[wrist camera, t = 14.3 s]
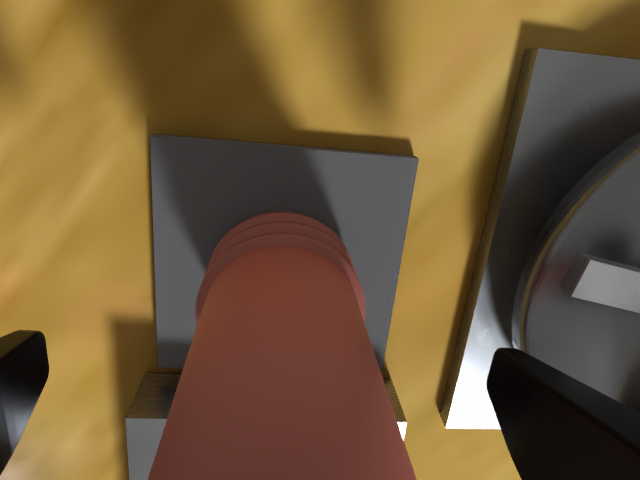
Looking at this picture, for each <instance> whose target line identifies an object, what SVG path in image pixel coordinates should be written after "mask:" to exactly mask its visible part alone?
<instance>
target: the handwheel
mask: <svg viewBox="0 0 640 480" xmlns="http://www.w3.org/2000/svg"><path fill="white" fill-rule="evenodd" d="M512 342H513V348H517V349H520V350H521V351H523V352H525V353H527V354H529V355H531V356H533V357H535V358H537V359H538V360H540V361H542V362H544V363H546V364H548V365H550V366H552V367H554V368H555V369H557V370H559V371H561V372H563V373H565V374H567V375H569V376H571V377H573V378H574V379H576V380H578V381H580V382H582V383H584V384H586V385H588V386H590V387H591V388H593V389H595V390H597V391H599V392H601V393H603V394H605V395H607V396H609V397H610V398H612V399H614V400H616V401H618V402H620V403H622V404H624V405H626V406H627V407H629V408H631V409H633V410H635V411H637V412H639V413H640V132H639V133H637V134H636V135H634V136H632V137H631V138H629V139H627V140H626V141H625V142H623V143H622V144H621V145H620V146H618V147H617V148H616V149H614V150H613V151H612V152H610V153H609V154H608V155H606V156H605V157H604V158H602V159H601V160H600V161H599V162H598V163H597V164H596V165H595V166H594V167H593V168H592V169H591V170H590V171H588V172H587V173H586V174H585V175H584V176H583V177H582V178H581V179H580V180H579V181H578V182H577V183H576V184H575V186H574V187H573V188H572V189H571V190H570V191H569V193H568V194H567V195H566V196H565V197H564V198H563V199H562V201H561V202H560V203H559V204H558V206H557V207H556V209H555V210H554V212H553V213H552V214H551V216H550V217H549V219H548V220H547V222H546V223H545V224H544V226H543V228H542V230H541V231H540V233H539V235H538V237H537V239H536V241H535V242H534V244H533V246H532V248H531V250H530V252H529V255H528V257H527V260H526V262H525V264H524V267H523V269H522V272H521V275H520V278H519V282H518V286H517V290H516V294H515V297H514V306H513V314H512Z"/></svg>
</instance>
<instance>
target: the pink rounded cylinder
mask: <svg viewBox="0 0 640 480" xmlns="http://www.w3.org/2000/svg"><path fill="white" fill-rule="evenodd" d="M365 314H366V307H365V298H364V294H363V290H362V287H361V285H360V282H359V279H358V276H357V274H356V271H355V268H354V266H353V263H352V260H351V258H350V255H349V252H348V250H347V248H346V247H345V245H344V243H343V242H342V240H341V239H340V238H339V237H338V235H337V234H336V233H335V232H334V231H333V230H332V229H330V228H329V227H328V226H326V225H325V224H323V223H322V222H320V221H318V220H316V219H314V218H312V217H309V216H307V215H303V214H300V213H295V212H287V211H276V212H267V213H263V214H259V215H256V216H253V217H250V218H248V219H246V220H244V221H242V222H240V223H239V224H237V225H236V226H235V227H233V228H232V229H231V230H229V231H228V232H227V233H226V234H225V235H224V236H223V238H222V239H221V240H220V241H219V243H218V244H217V246H216V248H215V250H214V251H213V254H212V256H211V259H210V261H209V264H208V267H207V270H206V272H205V275H204V278H203V281H202V284H201V286H200V289H199V292H198V296H197V300H196V307H195V318H196V325H197V327H196V330H195V334H194V337H193V340H192V343H191V346H190V349H189V352H188V355H187V358H186V362H185V365H184V368H183V371H182V374H181V377H180V380H179V383H178V386H177V390H176V393H175V396H174V399H173V402H172V405H171V408H170V411H169V415H168V418H167V421H166V424H165V427H164V430H163V433H162V436H161V439H160V443H159V446H158V449H157V452H156V455H155V458H154V461H153V464H152V467H151V471H150V474H149V477H148V480H416V477H415V474H414V471H413V468H412V465H411V462H410V459H409V456H408V453H407V450H406V447H405V444H404V441H403V438H402V435H401V432H400V429H399V426H398V423H397V420H396V417H395V414H394V411H393V408H392V405H391V402H390V399H389V395H388V392H387V389H386V386H385V383H384V380H383V377H382V374H381V371H380V368H379V365H378V362H377V359H376V356H375V353H374V350H373V347H372V344H371V341H370V338H369V335H368V332H367V329H366V326H365V323H364V322H365Z"/></svg>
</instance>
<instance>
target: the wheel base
mask: <svg viewBox="0 0 640 480" xmlns="http://www.w3.org/2000/svg"><path fill="white" fill-rule="evenodd" d="M639 132H640V60H638V59H629V58H620V57H612V56H603V55H594V54H586V53H577V52H568V51H560V50H551V49H542V48H533V49H526V53H525V58H524V62H523V66H522V70H521V75H520V79H519V83H518V87H517V91H516V96H515V100H514V104H513V108H512V113H511V117H510V121H509V125H508V130H507V134H506V138H505V142H504V147H503V151H502V155H501V159H500V164H499V168H498V172H497V176H496V181H495V185H494V189H493V193H492V198H491V202H490V206H489V210H488V215H487V219H486V223H485V227H484V231H483V236H482V240H481V244H480V248H479V253H478V257H477V261H476V265H475V270H474V274H473V278H472V282H471V287H470V291H469V295H468V299H467V304H466V308H465V312H464V316H463V321H462V325H461V329H460V333H459V338H458V342H457V346H456V350H455V355H454V359H453V363H452V367H451V371H450V376H449V380H448V384H447V388H446V393H445V397H444V401H443V405H442V410H441V414H440V417H441V419H442V421H443V423H444V425H445V427H446V428H458V429H501V428H500V425H499V422H498V420H497V417H496V414H495V411H494V408H493V406H492V403H491V400H490V397H489V395H488V391H487V384H486V383H487V377H488V373H489V370H490V366H491V362H492V358H493V355H494V352H495V351H496V349H498V348H513V342H512V314H513V306H514V297H515V294H516V290H517V286H518V282H519V278H520V275H521V272H522V269H523V267H524V264H525V262H526V260H527V257H528V255H529V252H530V250H531V248H532V246H533V244H534V242H535V241H536V239H537V237H538V235H539V233H540V231H541V230H542V228H543V226H544V224H545V223H546V222H547V220H548V219H549V217H550V216H551V214H552V213H553V212H554V210H555V209H556V207H557V206H558V204H559V203H560V202H561V201H562V199H563V198H564V197H565V196H566V195H567V194H568V193H569V191H570V190H571V189H572V188H573V187H574V186H575V184H576V183H577V182H578V181H579V180H580V179H581V178H582V177H583V176H584V175H585V174H586V173H587V172H588V171H590V170H591V169H592V168H593V167H594V166H595V165H596V164H597V163H598V162H599V161H600V160H601V159H602V158H604V157H605V156H606V155H608V154H609V153H610V152H612V151H613V150H614V149H616V148H617V147H618V146H620V145H621V144H622V143H623V142H625V141H626V140H627V139H629V138H631V137H632V136H634V135H636V134H637V133H639Z"/></svg>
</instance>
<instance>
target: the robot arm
mask: <svg viewBox="0 0 640 480" xmlns="http://www.w3.org/2000/svg"><path fill="white" fill-rule="evenodd" d="M48 374H49V363H48V356H47V348H46V340H45V336H44V334H43V333H42V332H40V331H32V330H18V331H15V332H12V333H10V334H8V335H5V336H3V337H0V475H1V473H2V472H3V470H4V468H5V467H6V465H7V463H8V461H9V459H10V458H11V456H12V454H13V452H14V450H15V448H16V446H17V444H18V442H19V440H20V438H21V436H22V433H23V431H24V429H25V427H26V425H27V423H28V420H29V418H30V416H31V414H32V412H33V410H34V407H35V405H36V403H37V401H38V399H39V397H40V394H41V392H42V390H43V388H44V386H45V384H46V381H47V378H48ZM486 384H487V391H488V395H489V397H490V400H491V403H492V406H493V408H494V411H495V414H496V417H497V420H498V422H499V425H500V428H501V431H502V433H503V436H504V439H505V442H506V445H507V447H508V450H509V452H510V455H511V457H512V460H513V462H514V464H515V466H516V469H517V471H518V473H519V475H520V477H521V479H522V480H640V413H639V412H637V411H635V410H633V409H631V408H629V407H627V406H626V405H624V404H622V403H620V402H618V401H616V400H614V399H612V398H610V397H609V396H607V395H605V394H603V393H601V392H599V391H597V390H595V389H593V388H591V387H590V386H588V385H586V384H584V383H582V382H580V381H578V380H576V379H574V378H573V377H571V376H569V375H567V374H565V373H563V372H561V371H559V370H557V369H555V368H554V367H552V366H550V365H548V364H546V363H544V362H542V361H540V360H538V359H537V358H535V357H533V356H531V355H529V354H527V353H525V352H523V351H521V350H520V349H517V348H498V349H496V351H495V352H494V355H493V358H492V362H491V366H490V370H489V373H488V377H487V383H486Z"/></svg>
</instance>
